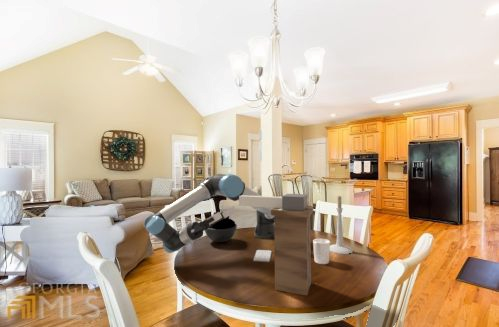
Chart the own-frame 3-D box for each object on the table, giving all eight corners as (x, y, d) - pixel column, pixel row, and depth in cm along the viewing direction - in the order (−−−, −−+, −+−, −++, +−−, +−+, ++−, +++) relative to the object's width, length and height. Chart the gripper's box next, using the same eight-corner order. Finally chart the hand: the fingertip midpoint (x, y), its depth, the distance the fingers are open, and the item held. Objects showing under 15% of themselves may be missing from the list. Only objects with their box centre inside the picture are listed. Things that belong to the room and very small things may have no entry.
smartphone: (252, 260, 119) (256, 249, 134) (252, 262, 119) (256, 251, 134) (269, 261, 118) (271, 250, 133) (269, 263, 118) (271, 252, 133)
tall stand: (279, 276, 102) (279, 204, 103) (313, 282, 97) (313, 206, 98) (271, 290, 91) (270, 209, 92) (309, 297, 86) (309, 211, 87)
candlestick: (323, 250, 135) (322, 195, 135) (335, 244, 143) (334, 193, 143) (345, 256, 125) (344, 197, 125) (357, 250, 133) (356, 195, 134)
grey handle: (244, 203, 107) (244, 192, 107) (307, 207, 97) (307, 194, 97) (236, 206, 98) (236, 194, 99) (303, 210, 89) (303, 197, 89)
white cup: (318, 257, 124) (318, 237, 124) (333, 261, 118) (332, 240, 118) (310, 261, 118) (309, 240, 119) (325, 266, 113) (324, 244, 113)
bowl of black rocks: (207, 248, 138) (206, 215, 138) (202, 238, 157) (201, 209, 157) (240, 244, 145) (240, 212, 145) (232, 235, 164) (232, 207, 164)
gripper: (209, 233, 122) (243, 214, 116) (177, 249, 99) (217, 226, 92) (203, 219, 124) (236, 200, 117) (170, 232, 100) (209, 208, 94)
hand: (228, 211), depth 105 cm, fingers open, 13 cm apart
